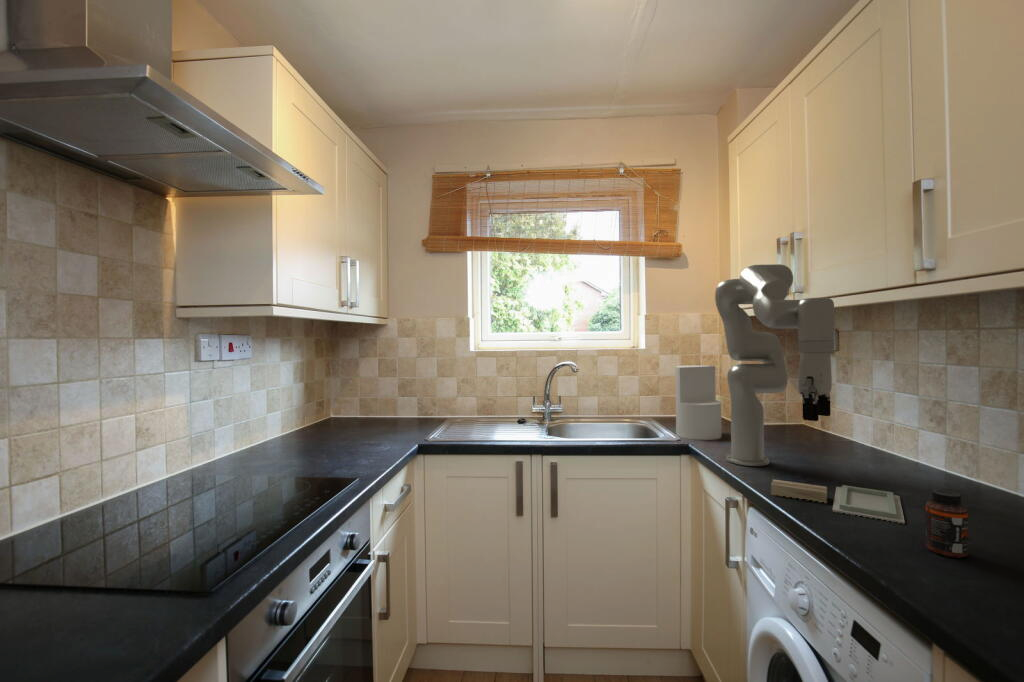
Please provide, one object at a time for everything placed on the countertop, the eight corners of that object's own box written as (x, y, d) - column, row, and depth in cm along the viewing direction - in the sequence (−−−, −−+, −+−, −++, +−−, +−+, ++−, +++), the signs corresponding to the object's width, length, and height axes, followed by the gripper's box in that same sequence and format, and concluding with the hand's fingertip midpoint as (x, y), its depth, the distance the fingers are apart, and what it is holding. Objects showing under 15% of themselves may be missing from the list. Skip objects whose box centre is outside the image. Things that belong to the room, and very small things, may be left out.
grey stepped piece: (667, 432, 200) (666, 366, 199) (701, 429, 205) (701, 364, 204) (694, 441, 183) (694, 369, 183) (731, 437, 188) (730, 367, 188)
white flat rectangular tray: (836, 488, 127) (836, 482, 127) (899, 497, 119) (899, 491, 119) (832, 511, 111) (832, 505, 110) (904, 524, 103) (904, 517, 103)
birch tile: (773, 490, 127) (773, 479, 127) (826, 498, 120) (826, 486, 120) (771, 495, 123) (771, 484, 123) (826, 504, 116) (826, 492, 116)
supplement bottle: (971, 562, 86) (970, 500, 86) (927, 553, 89) (927, 493, 89) (965, 550, 90) (965, 491, 90) (924, 542, 94) (923, 485, 94)
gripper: (809, 347, 125) (810, 412, 125) (786, 349, 114) (787, 420, 114) (843, 347, 120) (844, 415, 120) (823, 349, 108) (824, 424, 108)
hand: (816, 417), depth 117 cm, fingers open, 9 cm apart
